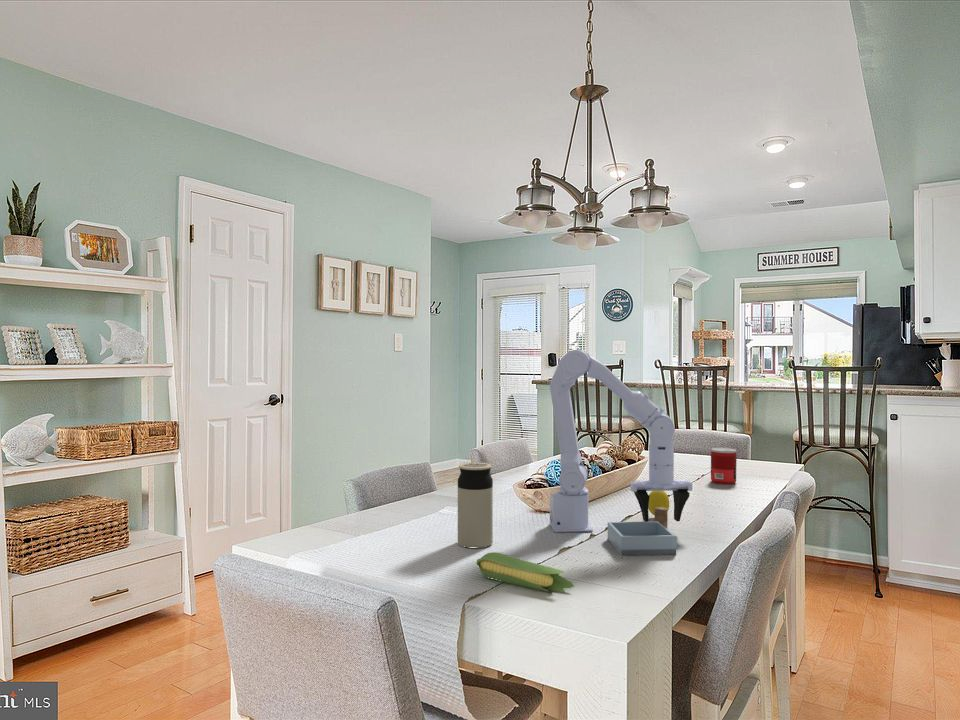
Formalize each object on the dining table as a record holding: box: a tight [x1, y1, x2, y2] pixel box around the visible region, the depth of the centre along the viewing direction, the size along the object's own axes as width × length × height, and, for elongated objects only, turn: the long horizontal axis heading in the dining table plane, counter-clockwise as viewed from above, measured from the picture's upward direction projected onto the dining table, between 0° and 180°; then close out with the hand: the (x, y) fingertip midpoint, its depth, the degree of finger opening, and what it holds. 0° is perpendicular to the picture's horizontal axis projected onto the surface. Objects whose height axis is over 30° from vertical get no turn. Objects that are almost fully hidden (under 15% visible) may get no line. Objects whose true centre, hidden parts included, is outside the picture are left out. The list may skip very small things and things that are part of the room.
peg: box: [654, 507, 669, 529], centre depth 157 cm, size 3×3×6 cm
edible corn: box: [476, 551, 575, 594], centre depth 124 cm, size 5×20×5 cm
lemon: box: [648, 491, 670, 516], centre depth 172 cm, size 6×6×8 cm
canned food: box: [710, 447, 738, 485], centre depth 218 cm, size 8×8×11 cm
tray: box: [607, 520, 677, 556], centre depth 147 cm, size 12×12×4 cm
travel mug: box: [457, 461, 494, 548], centre depth 149 cm, size 8×8×18 cm
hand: (661, 520), depth 157 cm, fingers open, 7 cm apart
